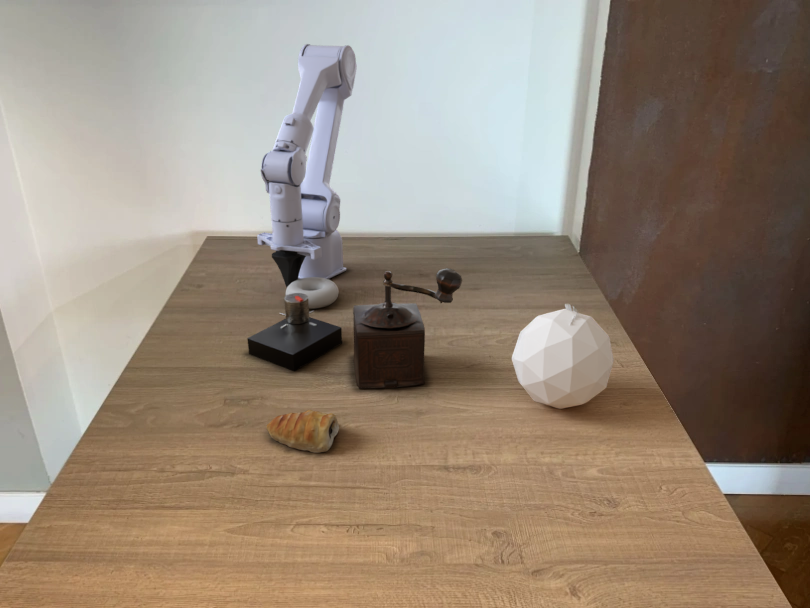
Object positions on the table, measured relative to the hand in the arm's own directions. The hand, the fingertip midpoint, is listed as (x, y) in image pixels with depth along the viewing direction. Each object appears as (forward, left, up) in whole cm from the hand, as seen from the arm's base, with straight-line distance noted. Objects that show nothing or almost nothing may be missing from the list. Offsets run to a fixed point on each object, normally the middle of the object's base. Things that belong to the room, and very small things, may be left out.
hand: (291, 286), depth 143 cm
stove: (+16, +15, -1) cm, 22 cm away
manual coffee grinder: (+13, +35, -2) cm, 38 cm away
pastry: (+36, +35, -2) cm, 50 cm away
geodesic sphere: (+7, +58, -2) cm, 59 cm away
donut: (0, +6, -2) cm, 6 cm away
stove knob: (+13, +13, +2) cm, 19 cm away
